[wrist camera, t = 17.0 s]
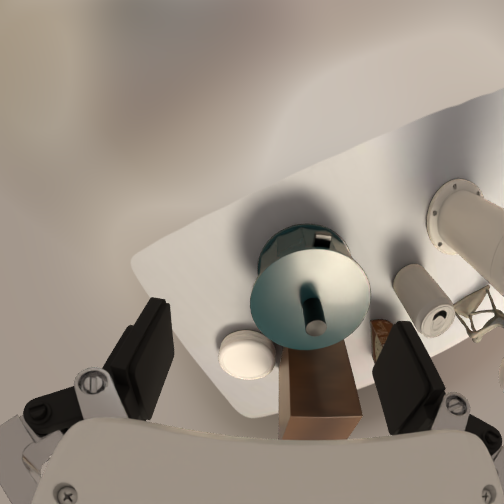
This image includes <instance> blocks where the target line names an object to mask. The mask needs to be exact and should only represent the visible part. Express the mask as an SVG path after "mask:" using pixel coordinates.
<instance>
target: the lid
mask: <svg viewBox="0 0 504 504" xmlns="http://www.w3.org/2000/svg"><path fill="white" fill-rule="evenodd" d="M370 300H371V289H370V283H369V281H368V278H367V276H366V274H365V272H364V271H363V269H362V268H361V266H360V265H359V264H358V263H357V262H356V261H355V260H354V259H353V258H351V257H350V256H348V255H347V254H344V253H342V252H340V251H337V250H334V249H331V248H325V247H306V248H301V249H296V250H293V251H290V252H288V253H286V254H283V255H281V256H280V257H278V258H276V259H275V260H273V261H272V262H271V263H270V264H269V265H267V266H266V267H265V268H264V270H263V271H262V272H261V273H260V275H259V276H258V277H257V279H256V281H255V283H254V286H253V289H252V292H251V298H250V309H251V314H252V317H253V320H254V322H255V324H256V326H257V327H258V329H259V330H260V331H261V332H262V333H263V334H264V335H265V336H266V337H267V338H268V339H270V340H271V341H273V342H275V343H277V344H279V345H281V346H284V347H287V348H291V349H297V350H315V349H320V348H325V347H328V346H331V345H333V344H336V343H338V342H340V341H342V340H343V339H345V338H346V337H348V336H349V335H350V334H351V333H353V332H354V331H355V330H356V329H357V328H358V327H359V325H360V324H361V323H362V321H363V320H364V318H365V316H366V314H367V312H368V309H369V306H370Z"/></svg>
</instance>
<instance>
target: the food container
mask: <svg viewBox="0 0 504 504" xmlns="http://www.w3.org/2000/svg"><path fill="white" fill-rule="evenodd" d="M370 325H371V340H372V357H373V360H374V363H376V361H377V359H378V357H379V355H380V352H381V350H382V348H383V346H384V344H385V341H386V339H387V337H388V335H389V332H390V330H391V328H392V326H393V324H392V323H391V322H389V321H387V320H383V319H376V320H371V321H370Z"/></svg>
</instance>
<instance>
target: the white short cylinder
mask: <svg viewBox="0 0 504 504" xmlns="http://www.w3.org/2000/svg"><path fill="white" fill-rule="evenodd" d="M218 359H219V364H220V366H221V367H222V369H223V370H224V371H225V372H227V373H228V374H230V375H232V376H234V377H236V378H239V379H245V380H252V379H258V378H261V377H264V376H266V375H267V374H269V373H270V372H271V371H272V370H273V368H274V366H275V347H274V345H273V343H272V341H271V340H270V339H268V338H267V337H266V336H265V335H263V334H261V333H259V332H256V331H250V330H242V331H237V332H234V333H231V334H229V335H228V336H227V337H225V339H224V340H223V341H222V343H221V346H220V350H219V355H218Z"/></svg>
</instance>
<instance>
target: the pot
mask: <svg viewBox="0 0 504 504" xmlns="http://www.w3.org/2000/svg"><path fill="white" fill-rule="evenodd" d="M306 247H325V248H331V249H334V250H337V251H340V252H342V253H344V254H347V255H348V256H350V257H351V254H350V251H349V248H348V247H347V245H346V243H345V242H344V240H343V239H342V238H341V237H340V236H339V235H338V234H337V233H335V232H334V231H332V230H331V229H328V228H326V227H324V226H321V225H316V224H299V225H294V226H291V227H288V228H286V229H283V230H281V231H280V232H278V233H277V234H275V235H274V236H273V237H272V238H271V239H270V240H269V241H268V242H267V243H266V245H265V246H264V248H263V250H262V252H261V254H260V257H259V261H258V276H259V275H260V273H261V272H262V271H263V270H264V268H265V267H266V266H267V265H269V264H270V263H271V262H272V261H273V260H275V259H276V258H278V257H280V256H281V255H283V254H286V253H288V252H290V251H293V250H296V249H301V248H306ZM351 258H352V257H351Z"/></svg>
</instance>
